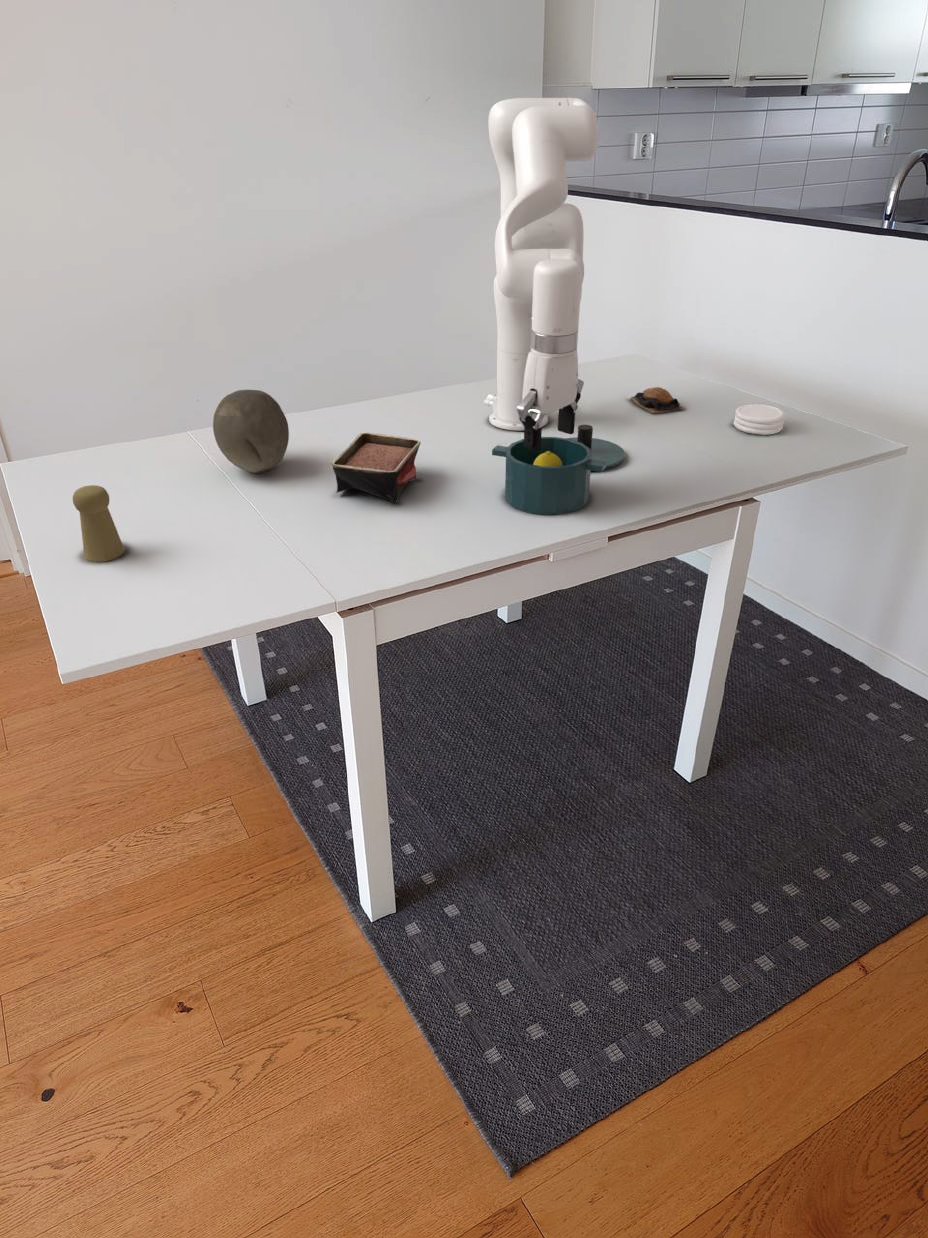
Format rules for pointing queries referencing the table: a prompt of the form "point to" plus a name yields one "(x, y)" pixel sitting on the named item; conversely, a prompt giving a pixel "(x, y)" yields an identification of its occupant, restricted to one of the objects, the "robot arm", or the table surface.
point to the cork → (97, 524)
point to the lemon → (548, 460)
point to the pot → (548, 476)
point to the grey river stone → (251, 430)
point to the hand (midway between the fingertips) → (549, 440)
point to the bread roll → (656, 401)
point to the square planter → (377, 465)
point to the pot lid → (599, 447)
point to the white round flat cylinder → (759, 419)
